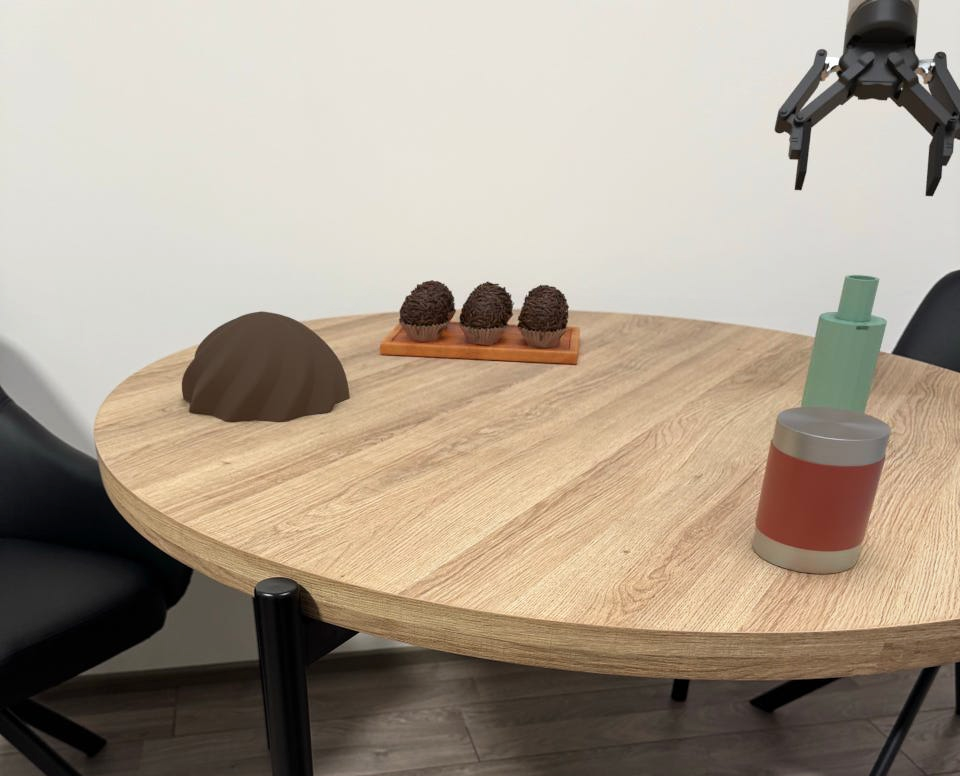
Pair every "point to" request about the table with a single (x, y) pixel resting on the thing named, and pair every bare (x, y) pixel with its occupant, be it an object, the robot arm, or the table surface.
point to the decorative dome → (263, 371)
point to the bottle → (846, 349)
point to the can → (819, 488)
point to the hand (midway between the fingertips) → (866, 184)
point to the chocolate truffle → (484, 326)
